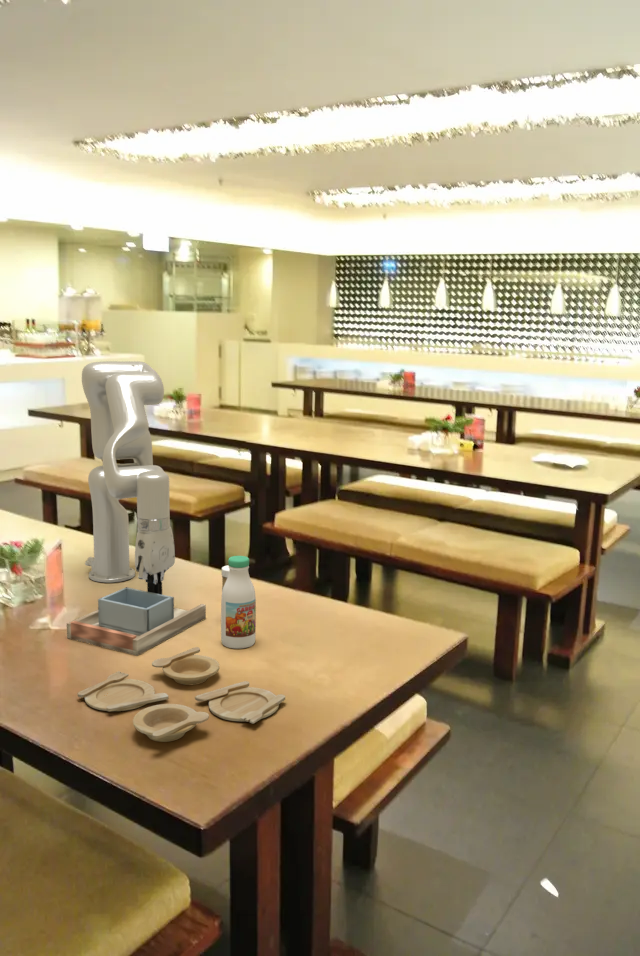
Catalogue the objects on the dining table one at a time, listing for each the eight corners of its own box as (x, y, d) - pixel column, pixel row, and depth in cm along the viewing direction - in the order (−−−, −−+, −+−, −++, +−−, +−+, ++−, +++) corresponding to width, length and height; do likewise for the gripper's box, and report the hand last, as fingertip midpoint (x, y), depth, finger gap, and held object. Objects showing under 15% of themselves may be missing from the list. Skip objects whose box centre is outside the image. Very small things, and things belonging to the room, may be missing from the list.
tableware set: (299, 712, 157) (299, 692, 156) (169, 768, 136) (168, 745, 136) (190, 655, 181) (190, 638, 180) (66, 695, 161) (65, 676, 160)
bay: (67, 638, 188) (66, 621, 187) (140, 604, 211) (139, 589, 210) (137, 655, 179) (137, 638, 178) (205, 618, 202) (205, 602, 201)
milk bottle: (214, 645, 186) (214, 559, 182) (233, 634, 193) (233, 551, 189) (243, 652, 183) (244, 565, 179) (261, 640, 189) (262, 556, 185)
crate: (98, 625, 193) (98, 599, 191) (126, 612, 202) (126, 587, 200) (147, 636, 187) (146, 609, 185) (173, 622, 195) (173, 597, 194)
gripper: (146, 532, 187) (148, 609, 191) (185, 519, 201) (185, 591, 204) (120, 528, 191) (122, 604, 194) (160, 515, 204) (161, 586, 207)
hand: (154, 597), depth 199 cm, fingers closed
